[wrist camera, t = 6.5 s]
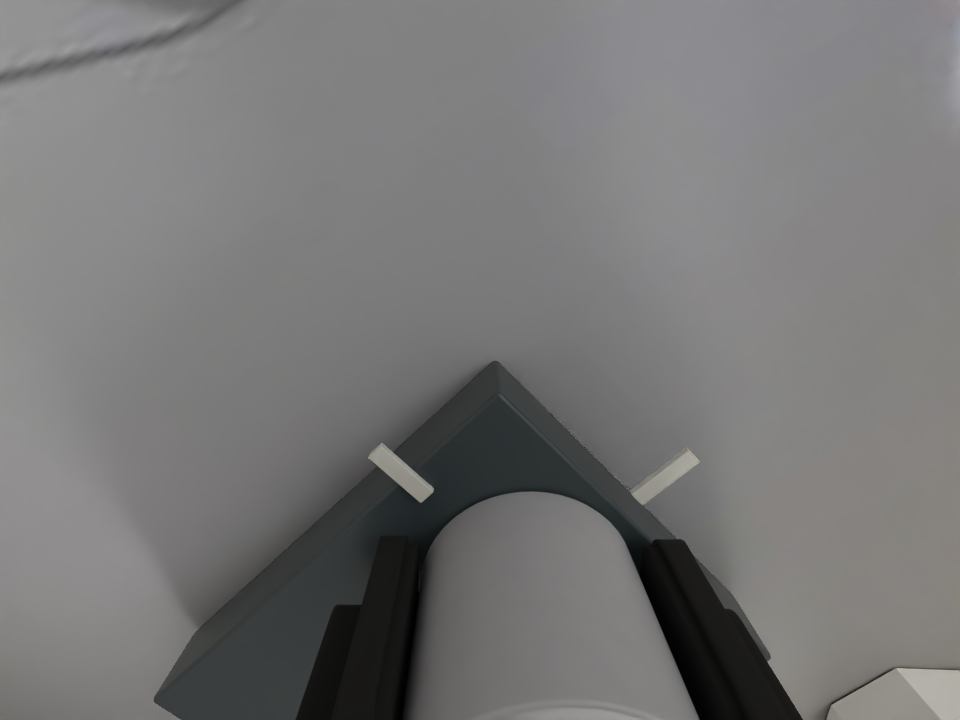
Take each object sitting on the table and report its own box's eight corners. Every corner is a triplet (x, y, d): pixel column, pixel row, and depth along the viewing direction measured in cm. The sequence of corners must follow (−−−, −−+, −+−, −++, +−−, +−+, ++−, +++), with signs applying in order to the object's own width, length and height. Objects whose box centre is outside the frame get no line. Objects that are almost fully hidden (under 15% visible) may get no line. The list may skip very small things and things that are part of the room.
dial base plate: (531, 275, 11) (543, 295, 9) (791, 553, 13) (848, 620, 11) (169, 615, 14) (115, 689, 12) (436, 798, 16) (430, 888, 14)
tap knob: (674, 584, 11) (813, 862, 7) (518, 693, 12) (545, 1003, 7) (537, 448, 10) (587, 665, 6) (377, 577, 11) (308, 855, 6)
